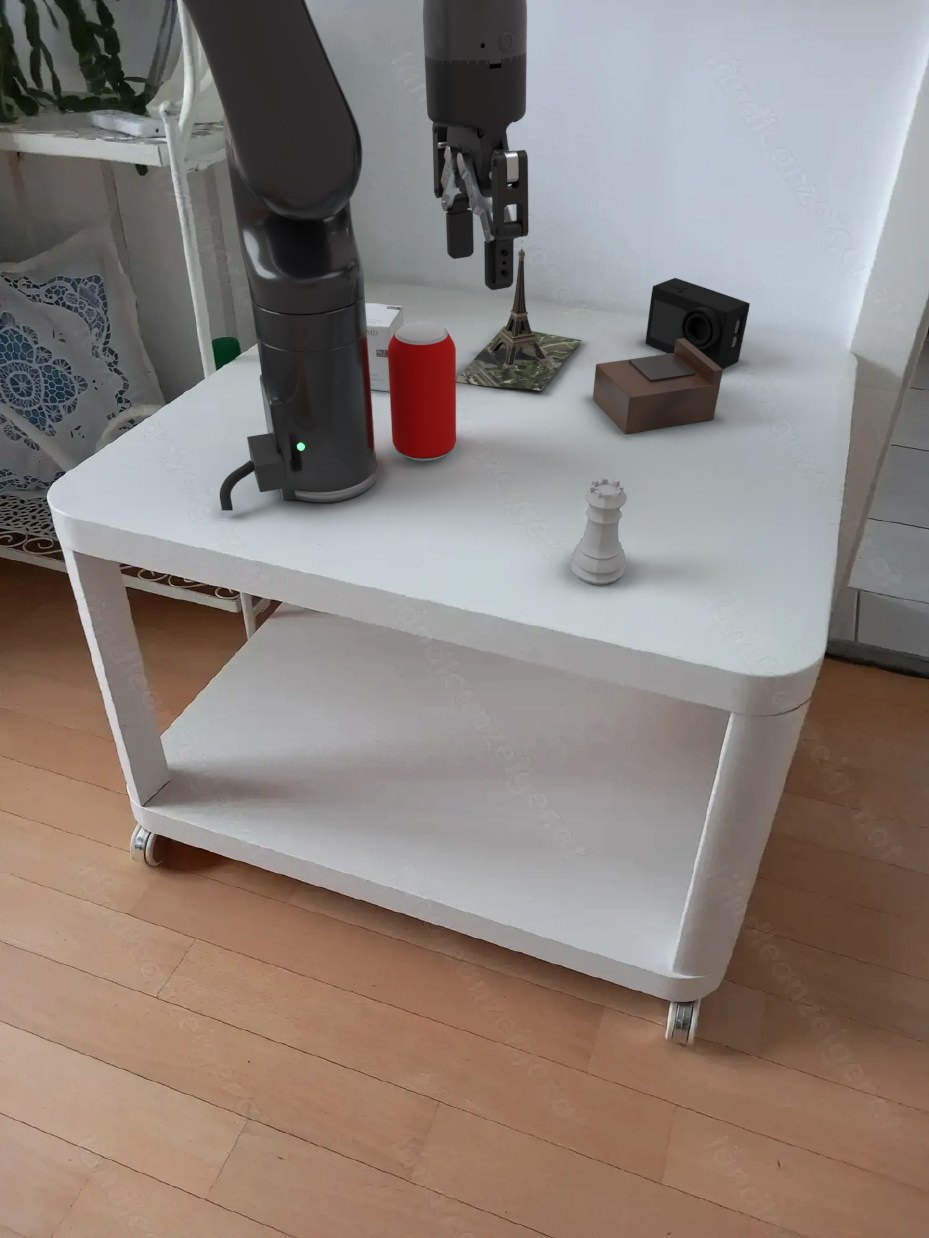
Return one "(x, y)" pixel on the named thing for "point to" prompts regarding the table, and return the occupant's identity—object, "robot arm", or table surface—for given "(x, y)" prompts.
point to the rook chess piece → (601, 535)
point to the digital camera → (697, 320)
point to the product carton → (381, 340)
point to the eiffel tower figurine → (519, 351)
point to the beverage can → (422, 391)
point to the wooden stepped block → (659, 389)
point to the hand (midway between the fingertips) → (479, 271)
